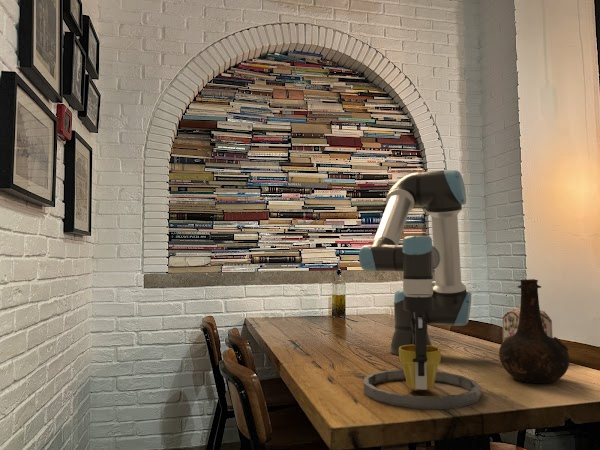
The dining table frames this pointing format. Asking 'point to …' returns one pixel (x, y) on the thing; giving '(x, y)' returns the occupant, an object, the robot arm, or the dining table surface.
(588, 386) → the dining table surface
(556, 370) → the glass bottle
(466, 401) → the centring collar
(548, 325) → the decorative jar
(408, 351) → the plant pot
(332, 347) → the dining table surface
